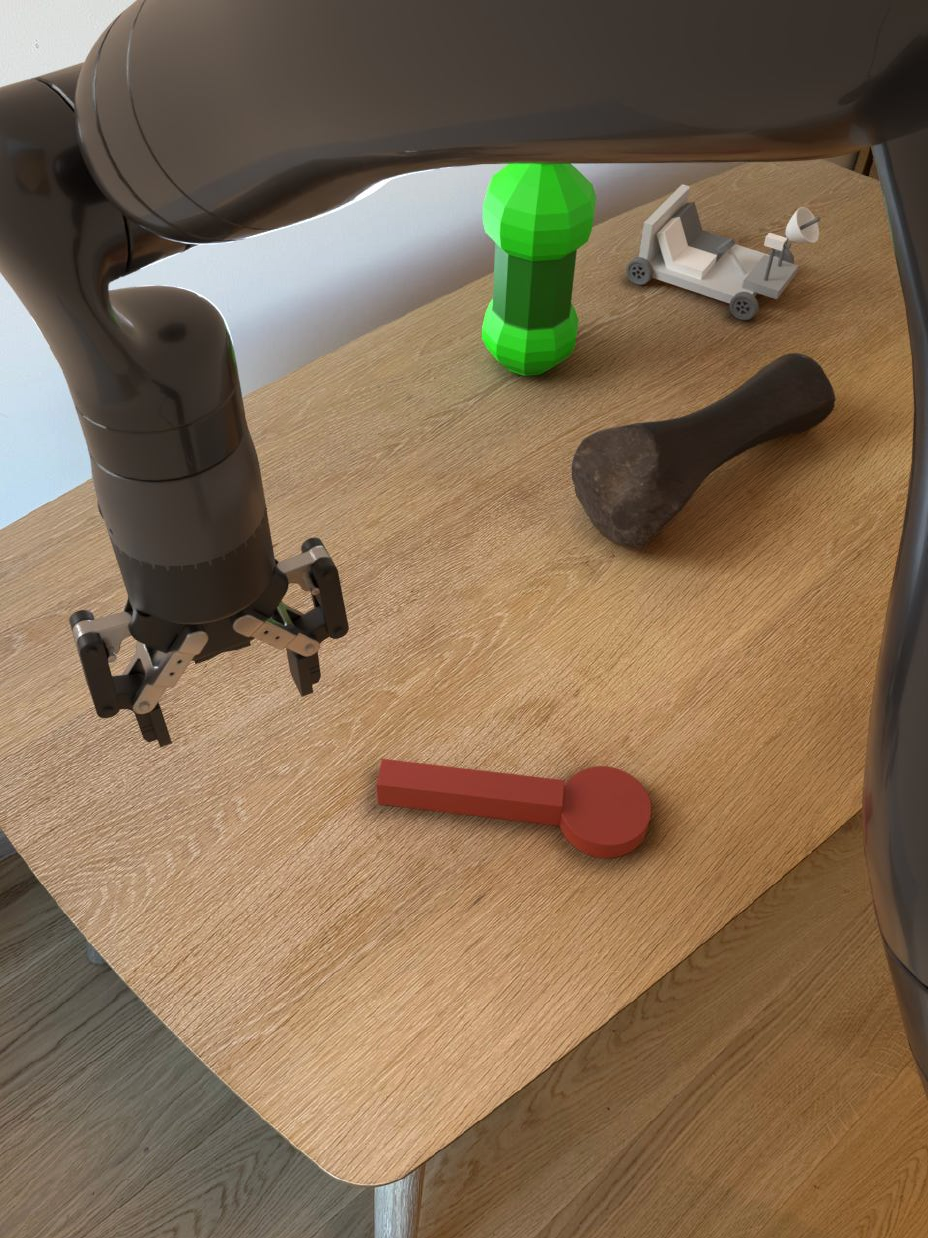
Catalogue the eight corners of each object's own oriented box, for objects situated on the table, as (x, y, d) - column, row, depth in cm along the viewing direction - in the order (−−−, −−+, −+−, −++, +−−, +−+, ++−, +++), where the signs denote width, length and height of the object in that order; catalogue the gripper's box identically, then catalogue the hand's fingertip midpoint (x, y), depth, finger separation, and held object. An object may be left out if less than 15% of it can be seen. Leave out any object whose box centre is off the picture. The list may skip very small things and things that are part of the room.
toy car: (837, 199, 116) (798, 248, 110) (813, 281, 124) (775, 332, 117) (681, 154, 122) (635, 198, 116) (667, 235, 130) (623, 280, 123)
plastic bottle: (597, 359, 113) (630, 118, 95) (529, 404, 108) (549, 159, 90) (526, 319, 118) (543, 80, 99) (457, 360, 113) (461, 117, 94)
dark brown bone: (603, 575, 96) (791, 468, 111) (671, 525, 87) (866, 417, 102) (537, 471, 97) (733, 379, 112) (598, 412, 88) (802, 320, 103)
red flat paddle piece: (372, 830, 77) (370, 810, 75) (387, 754, 81) (386, 734, 79) (646, 863, 76) (652, 844, 74) (648, 784, 80) (653, 765, 78)
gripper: (50, 605, 48) (130, 804, 60) (353, 510, 52) (370, 714, 64) (17, 499, 52) (97, 704, 65) (299, 420, 57) (324, 626, 69)
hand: (233, 709), depth 64 cm, fingers open, 8 cm apart
